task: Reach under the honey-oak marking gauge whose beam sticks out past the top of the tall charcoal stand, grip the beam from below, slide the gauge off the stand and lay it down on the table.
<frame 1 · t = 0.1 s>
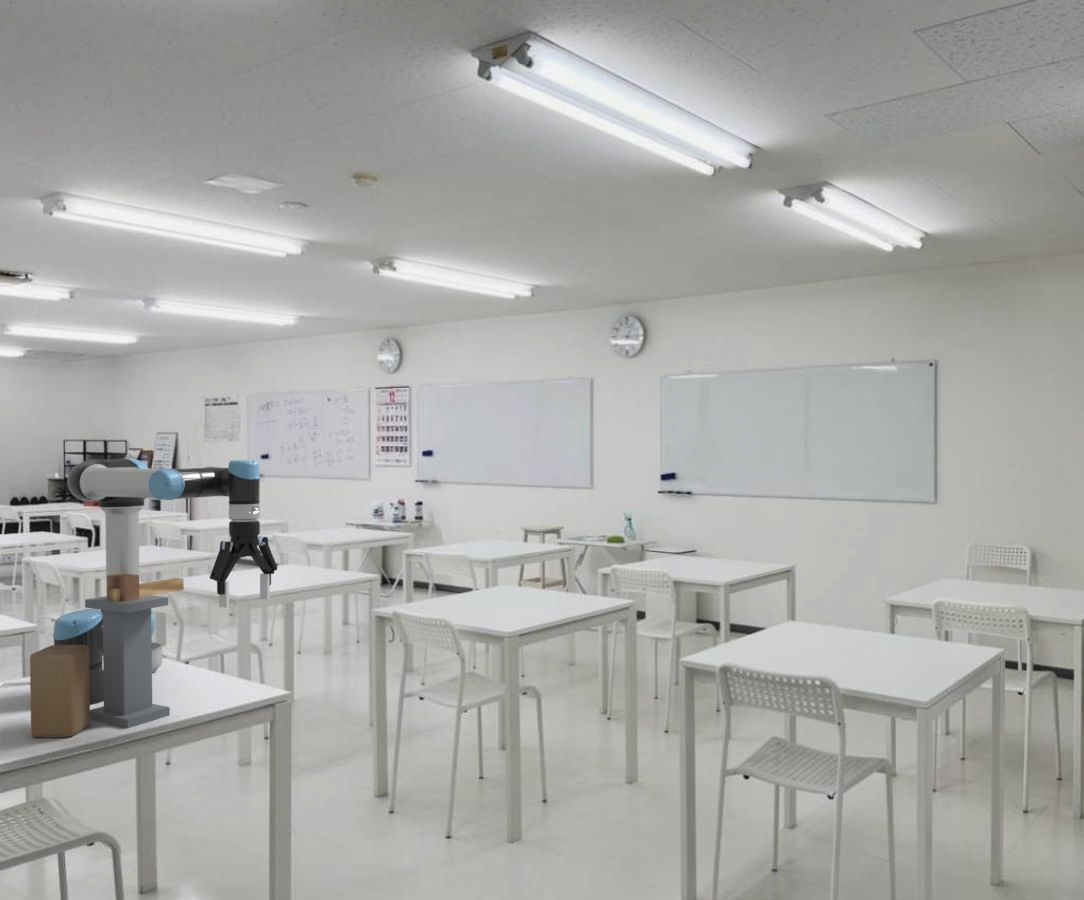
hand: (244, 603, 236), 28 cm above the table, tool pointing down, fingers open, 13 cm apart
teacup: (140, 672, 280), on the table
marking gauge: (147, 594, 238), point 30 cm above the table, touching tall stand
wooden block 2: (74, 681, 270), on the table
wooden block: (61, 732, 221), on the table
tall stand: (128, 716, 233), on the table
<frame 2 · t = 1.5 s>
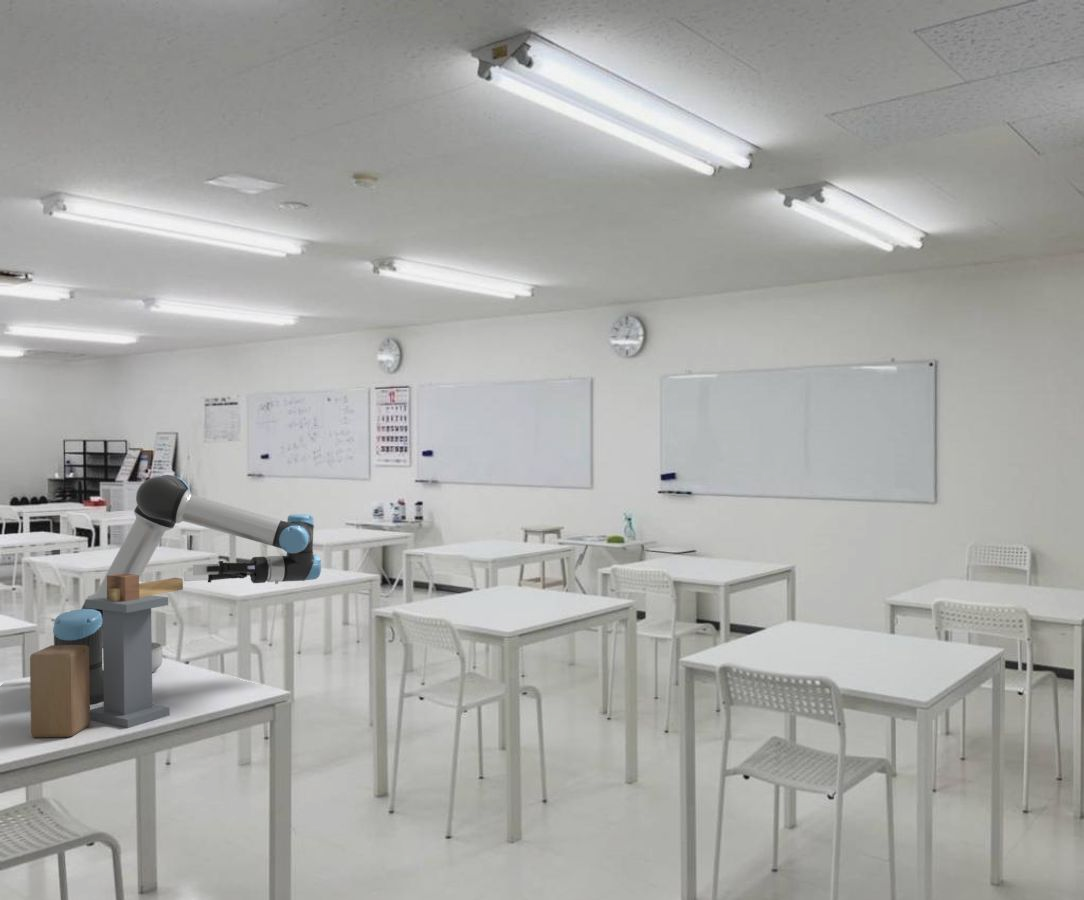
hand: (188, 573, 255), 33 cm above the table, tool horizontal, fingers open, 13 cm apart
nothing on the table moved.
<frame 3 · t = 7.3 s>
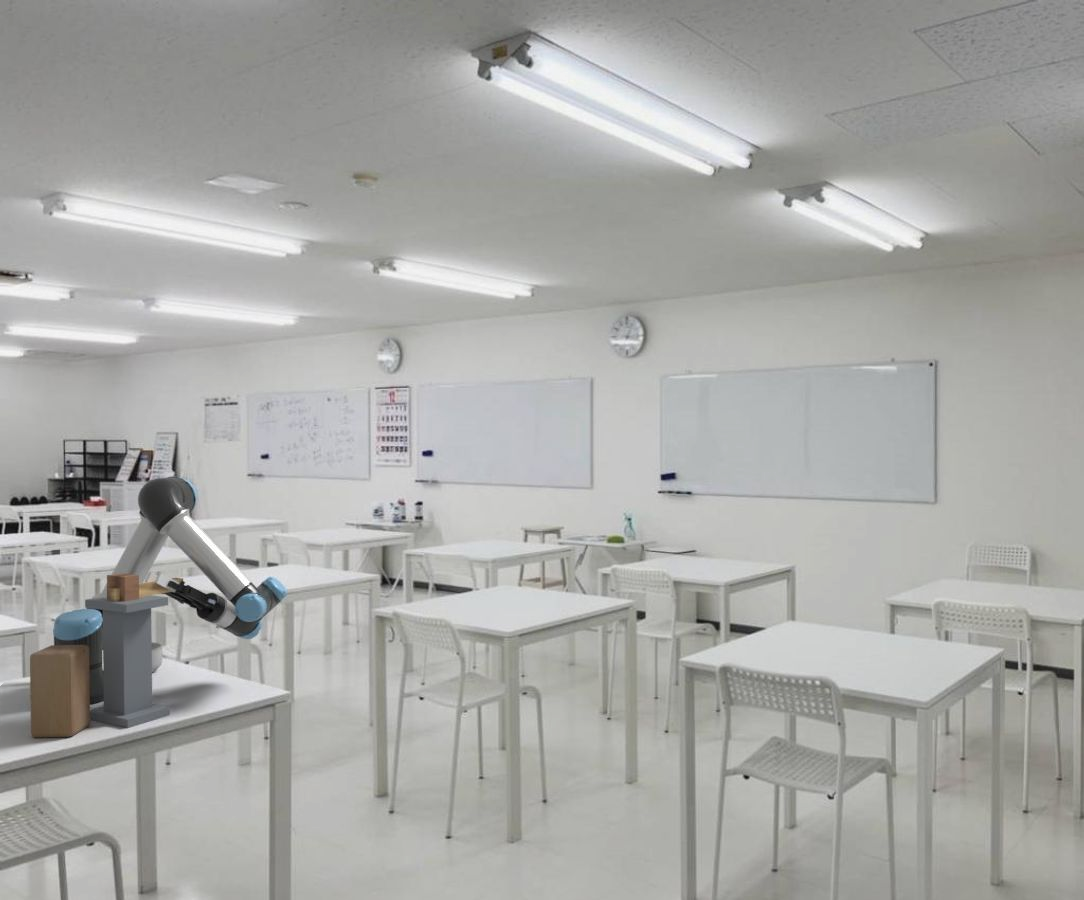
hand: (153, 577, 239), 34 cm above the table, tool pointing upward, fingers closed on marking gauge, 3 cm apart
marking gauge: (147, 594, 238), point 30 cm above the table, touching gripper, tall stand
everything else where it was.
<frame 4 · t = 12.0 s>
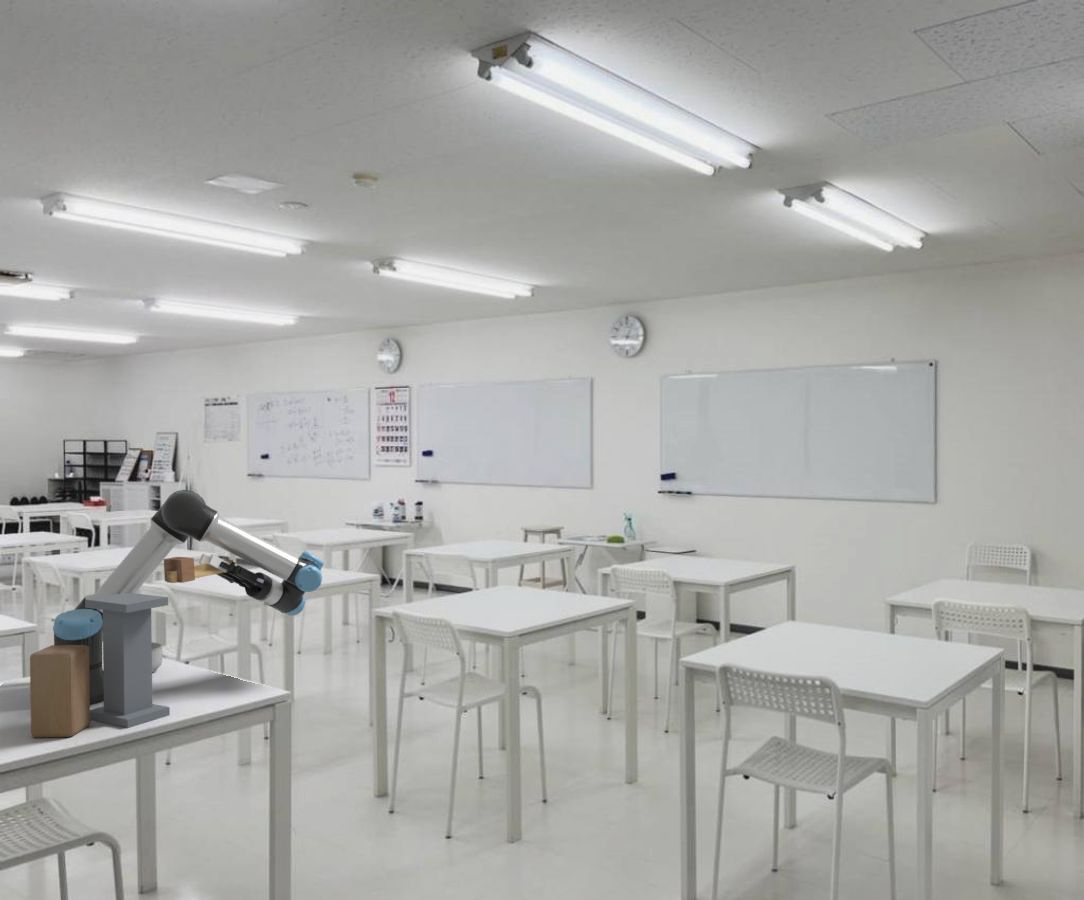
hand: (206, 558, 254), 37 cm above the table, tool pointing upward, fingers closed on marking gauge, 3 cm apart
marking gauge: (201, 576, 253), point 33 cm above the table, touching gripper
everything else where it was.
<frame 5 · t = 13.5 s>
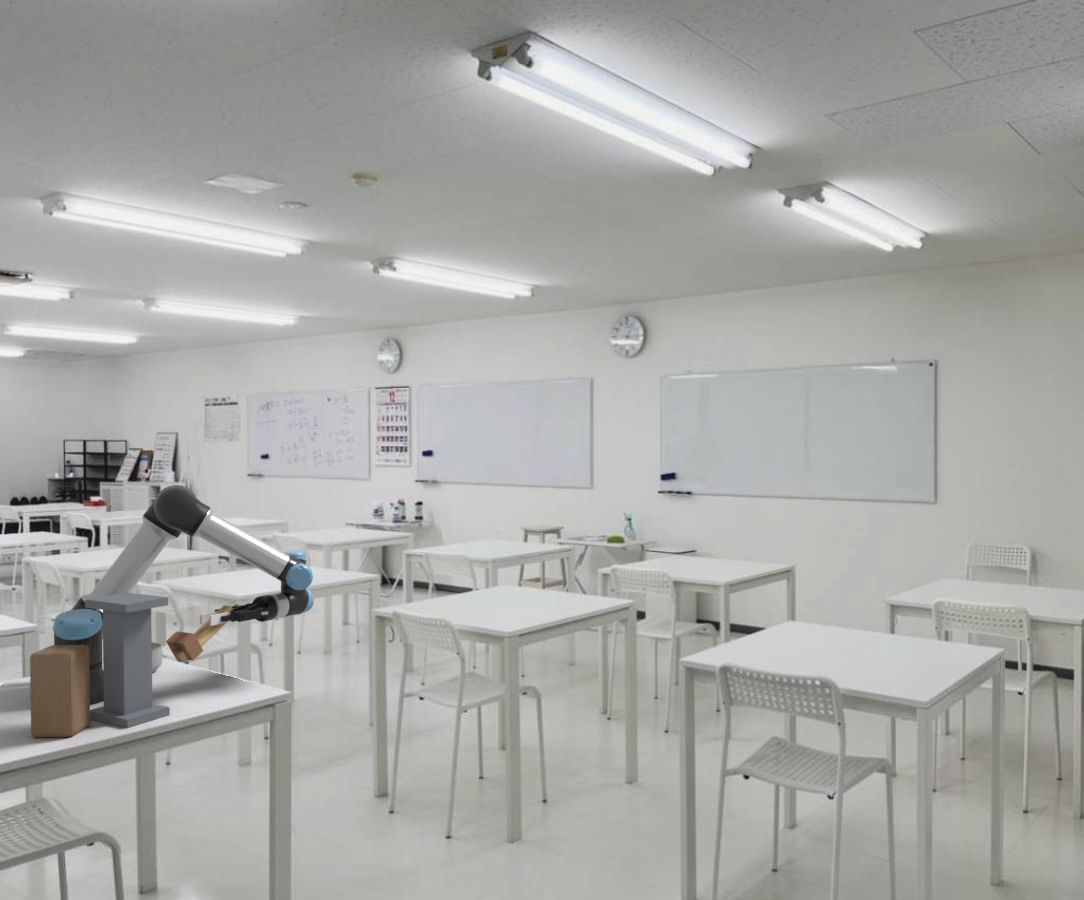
hand: (205, 620, 254), 20 cm above the table, tool horizontal, fingers closed on marking gauge, 3 cm apart
marking gauge: (207, 637, 255), point 15 cm above the table, tilted 30°, touching gripper
everything else where it was.
when the fingers open (8 cm above the table, at t = 16.7 s): marking gauge drops 4 cm, on the table.
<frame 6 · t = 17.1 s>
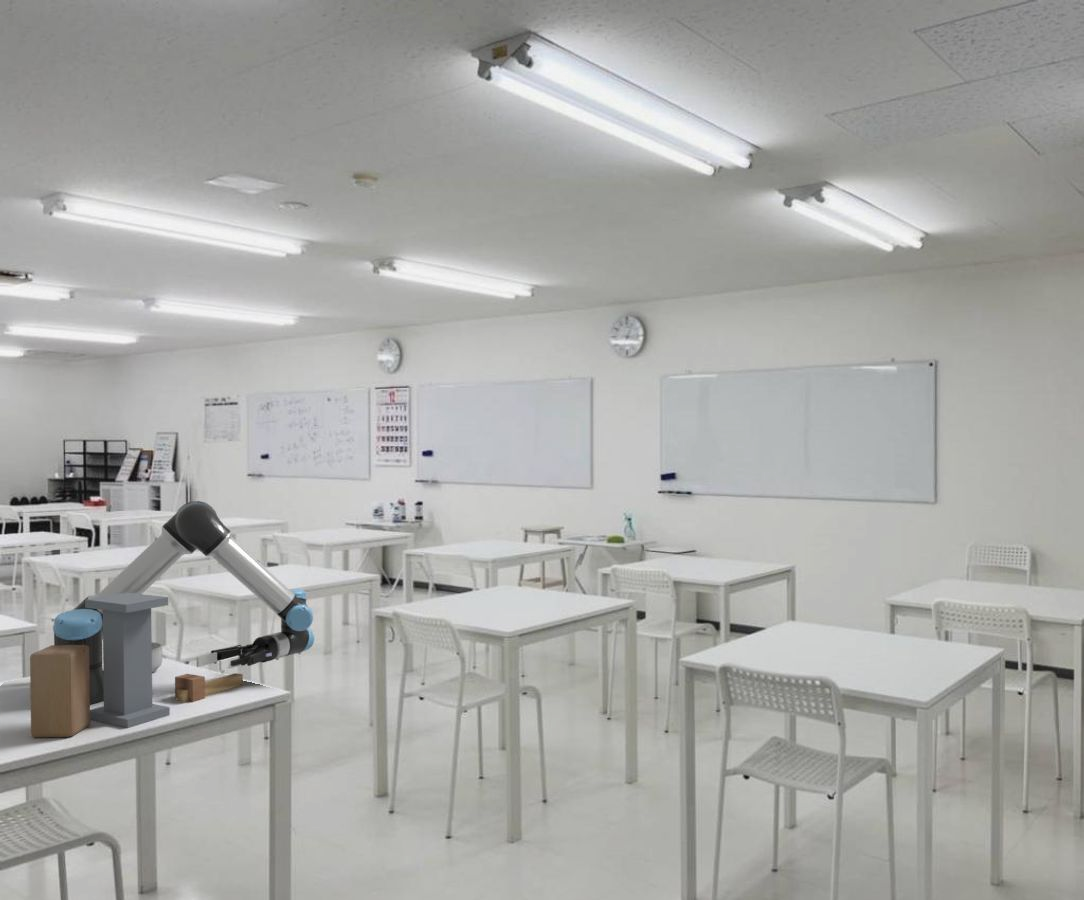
hand: (208, 663, 255), 8 cm above the table, tool horizontal, fingers open, 8 cm apart
marking gauge: (210, 692, 255), on the table
everything else where it was.
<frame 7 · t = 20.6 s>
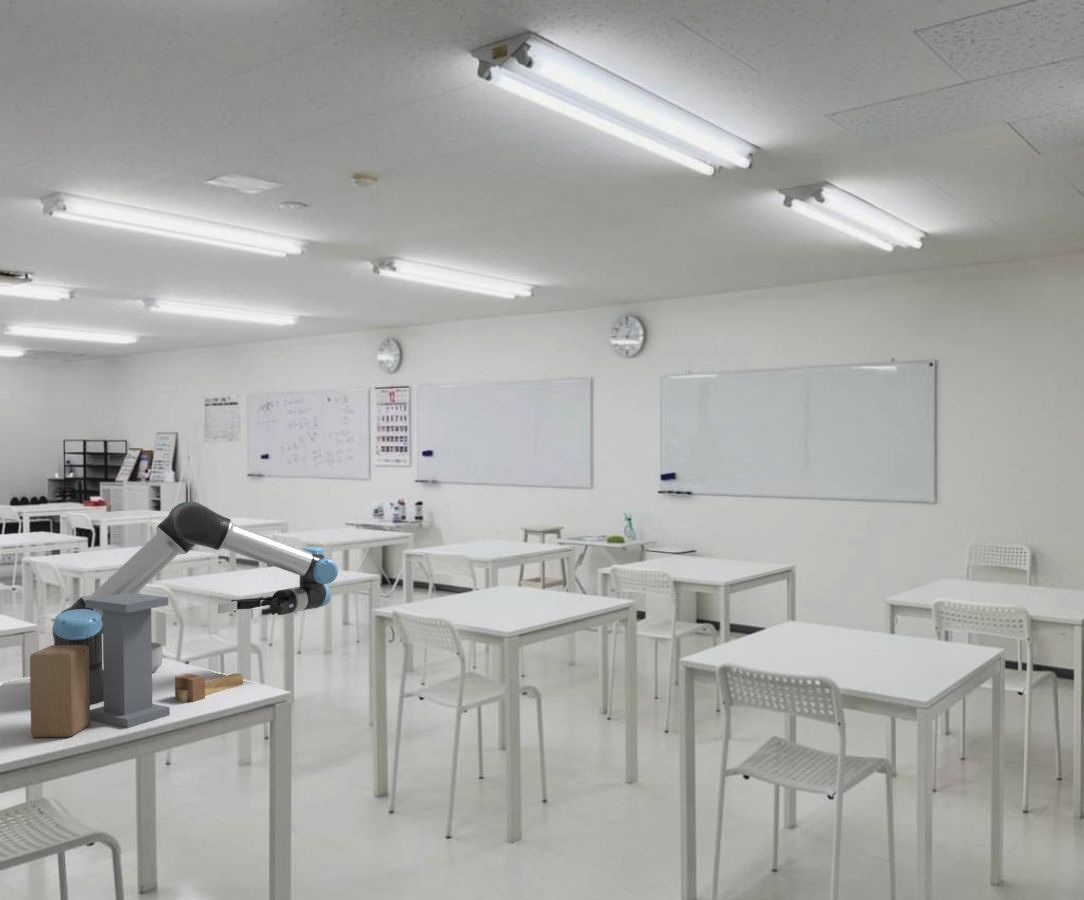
hand: (235, 611, 266), 21 cm above the table, tool horizontal, fingers open, 13 cm apart
wooden block 2: (74, 681, 269), on the table, touching arm
everything else where it was.
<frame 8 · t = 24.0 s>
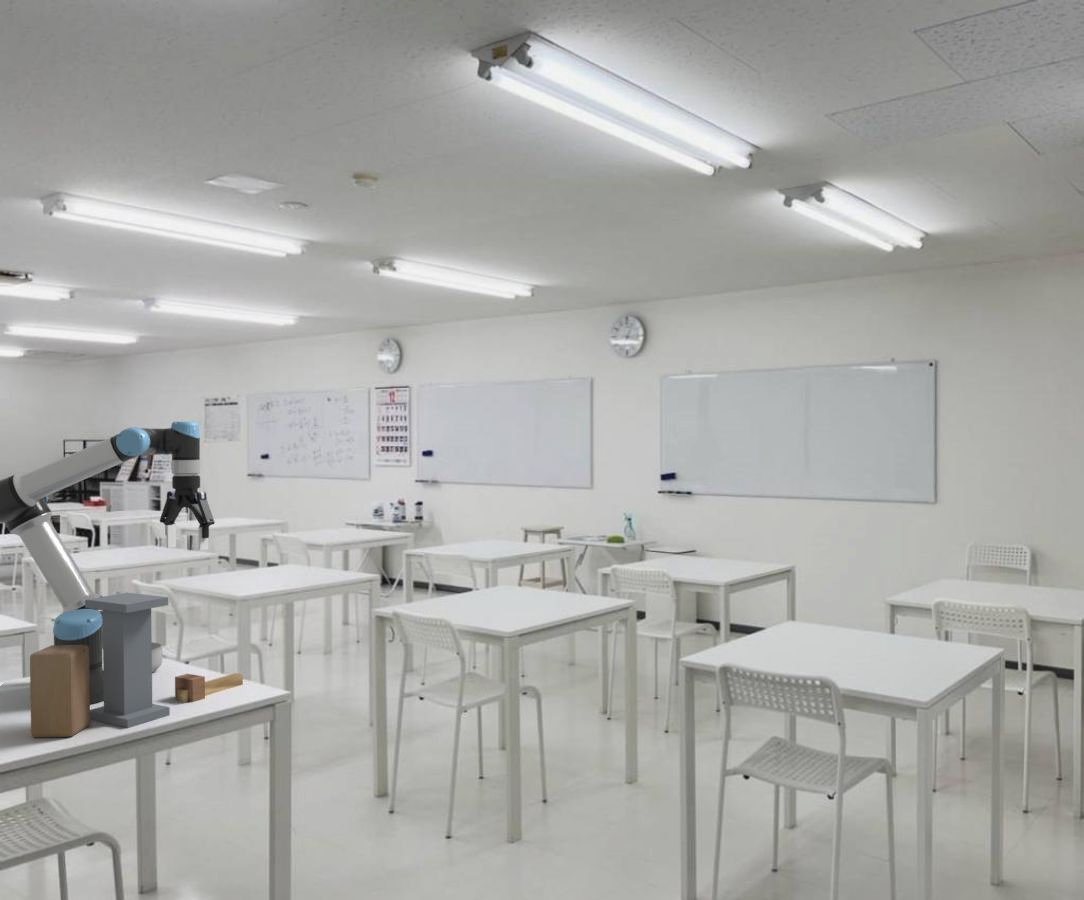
hand: (187, 548, 266), 39 cm above the table, tool pointing down, fingers open, 13 cm apart
at the end: marking gauge on the table; marking gauge moved 36.1 cm from its start; the gripper is holding nothing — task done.
